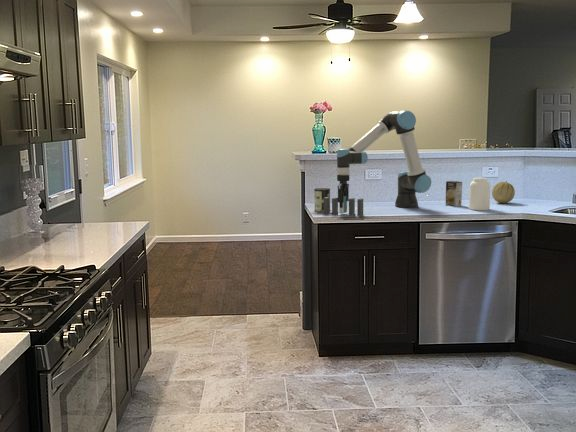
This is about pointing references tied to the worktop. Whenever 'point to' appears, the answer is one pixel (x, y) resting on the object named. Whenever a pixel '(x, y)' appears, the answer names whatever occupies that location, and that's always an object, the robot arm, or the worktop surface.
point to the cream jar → (479, 194)
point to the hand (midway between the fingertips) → (343, 212)
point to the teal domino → (344, 204)
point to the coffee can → (320, 198)
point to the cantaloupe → (503, 192)
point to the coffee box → (453, 193)
